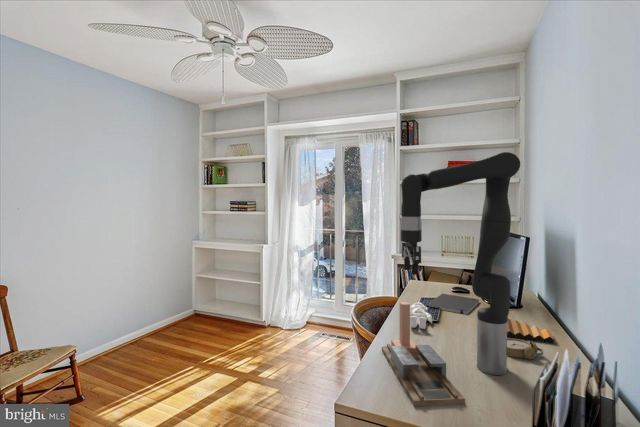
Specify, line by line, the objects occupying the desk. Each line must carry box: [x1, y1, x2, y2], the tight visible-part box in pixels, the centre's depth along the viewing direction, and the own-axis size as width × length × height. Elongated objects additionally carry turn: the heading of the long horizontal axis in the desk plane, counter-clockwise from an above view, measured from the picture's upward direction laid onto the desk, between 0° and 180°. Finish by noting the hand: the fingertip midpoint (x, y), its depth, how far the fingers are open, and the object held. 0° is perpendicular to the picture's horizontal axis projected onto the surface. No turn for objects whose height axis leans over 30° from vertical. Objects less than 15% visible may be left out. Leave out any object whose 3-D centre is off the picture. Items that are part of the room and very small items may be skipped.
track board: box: [381, 343, 466, 407], centre depth 112 cm, size 36×15×2 cm, turn 4°
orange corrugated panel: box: [507, 317, 556, 345], centre depth 152 cm, size 25×3×25 cm
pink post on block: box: [390, 301, 419, 356], centre depth 125 cm, size 8×8×18 cm
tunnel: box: [390, 344, 447, 380], centre depth 112 cm, size 14×14×5 cm
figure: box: [410, 301, 433, 330], centre depth 162 cm, size 13×8×25 cm
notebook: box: [426, 293, 480, 315], centre depth 190 cm, size 22×2×28 cm
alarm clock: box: [507, 338, 544, 361], centre depth 127 cm, size 11×5×15 cm
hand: (410, 272), depth 123 cm, fingers open, 8 cm apart
